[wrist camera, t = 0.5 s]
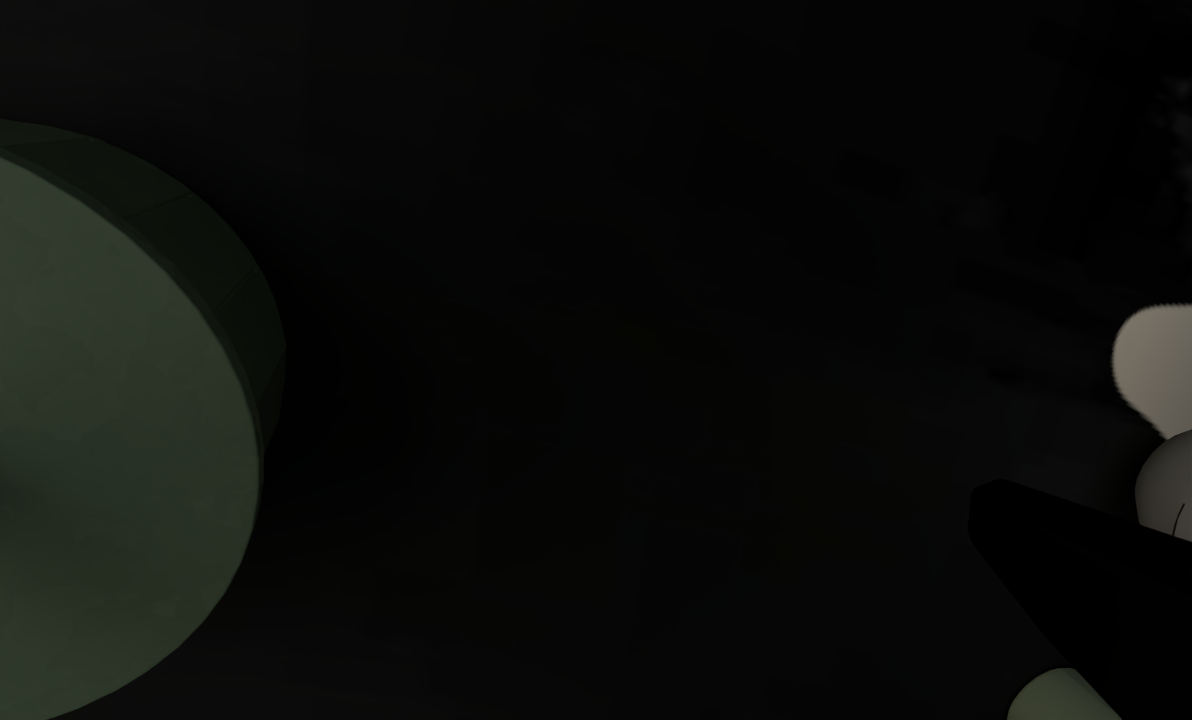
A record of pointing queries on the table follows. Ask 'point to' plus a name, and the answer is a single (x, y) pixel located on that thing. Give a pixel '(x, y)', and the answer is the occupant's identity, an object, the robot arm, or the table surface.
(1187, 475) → the white ball
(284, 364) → the tin
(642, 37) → the table surface
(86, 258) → the lid
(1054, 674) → the candle
